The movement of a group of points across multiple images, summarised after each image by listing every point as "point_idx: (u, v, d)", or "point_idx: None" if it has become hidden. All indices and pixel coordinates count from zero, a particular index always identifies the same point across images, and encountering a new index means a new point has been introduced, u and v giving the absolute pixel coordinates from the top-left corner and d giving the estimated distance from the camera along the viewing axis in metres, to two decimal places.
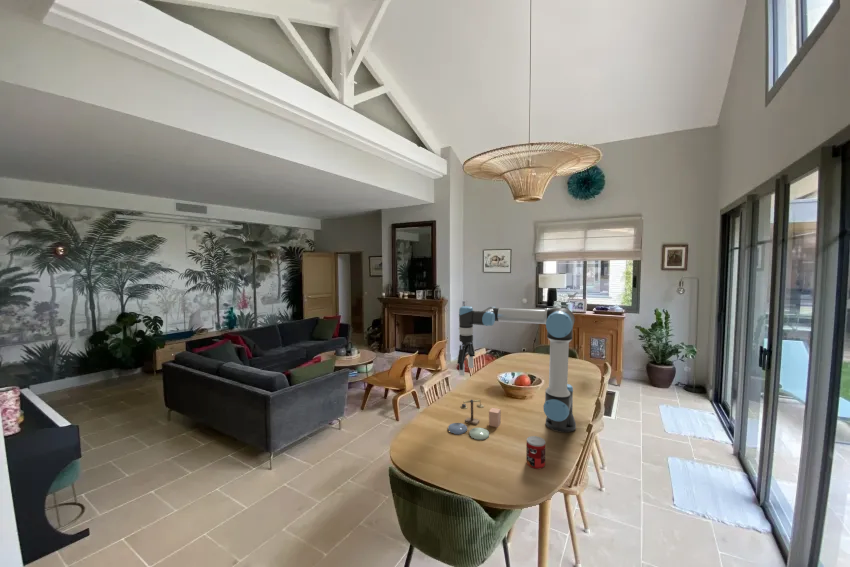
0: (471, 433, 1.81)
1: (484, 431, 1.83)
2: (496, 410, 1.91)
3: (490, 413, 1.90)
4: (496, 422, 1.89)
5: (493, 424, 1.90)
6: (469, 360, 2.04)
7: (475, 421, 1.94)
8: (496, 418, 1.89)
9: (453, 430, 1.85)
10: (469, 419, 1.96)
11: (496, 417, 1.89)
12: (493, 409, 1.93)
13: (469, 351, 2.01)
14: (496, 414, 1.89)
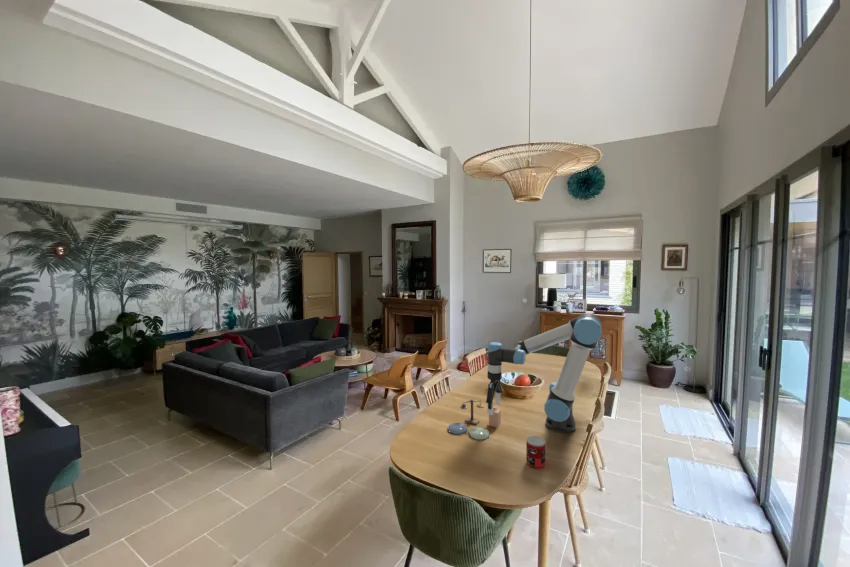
0: (471, 433, 1.81)
1: (484, 431, 1.83)
2: (496, 410, 1.91)
3: None
4: (496, 422, 1.89)
5: (493, 424, 1.90)
6: (496, 396, 1.97)
7: (475, 421, 1.94)
8: (496, 418, 1.89)
9: (453, 430, 1.85)
10: (469, 419, 1.96)
11: (496, 417, 1.89)
12: (493, 409, 1.93)
13: (497, 388, 1.95)
14: (496, 414, 1.89)
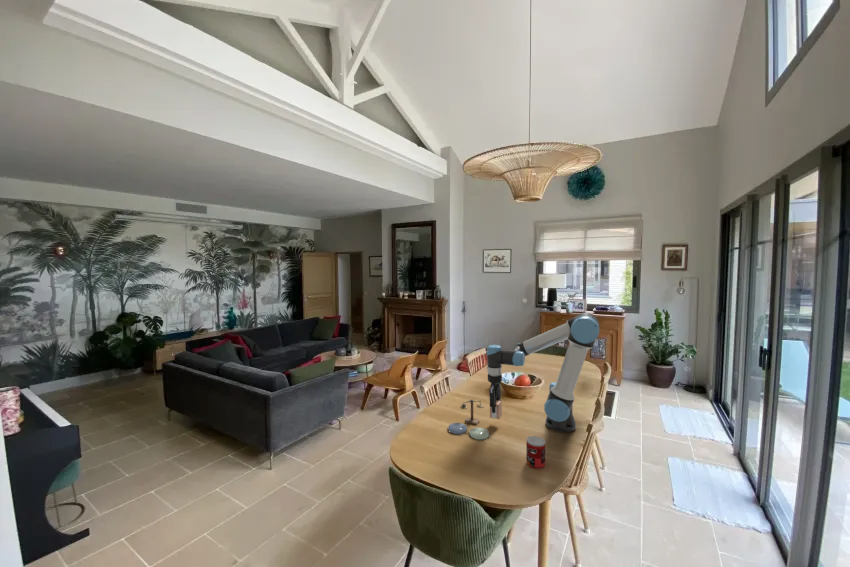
0: (471, 433, 1.81)
1: (484, 431, 1.83)
2: (497, 402, 1.91)
3: None
4: (497, 414, 1.89)
5: None
6: None
7: (475, 421, 1.94)
8: (497, 410, 1.88)
9: (453, 430, 1.85)
10: (469, 419, 1.96)
11: (497, 409, 1.88)
12: None
13: (496, 394, 1.93)
14: (497, 406, 1.88)
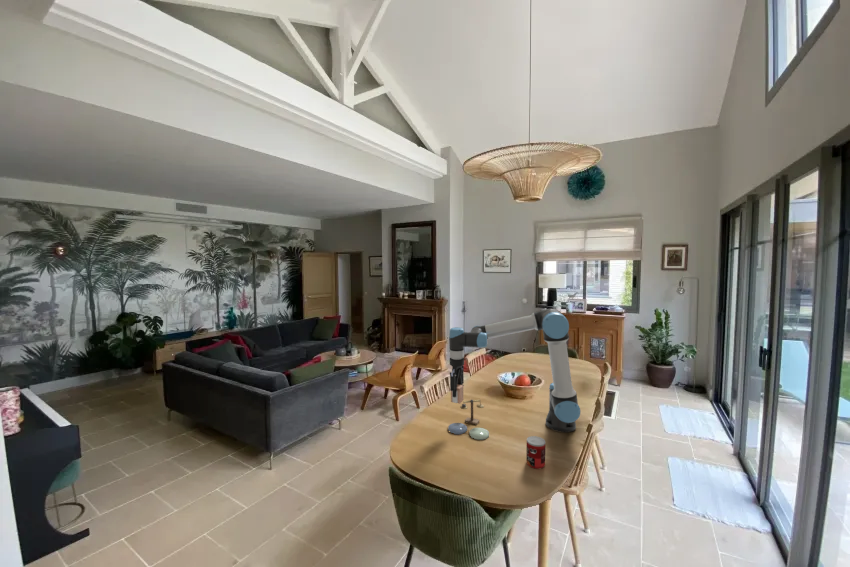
0: (471, 433, 1.81)
1: (484, 431, 1.83)
2: (458, 386, 1.85)
3: None
4: (458, 398, 1.83)
5: None
6: None
7: (475, 421, 1.94)
8: (458, 394, 1.83)
9: (453, 430, 1.85)
10: (469, 419, 1.96)
11: (458, 393, 1.83)
12: None
13: (458, 378, 1.87)
14: (458, 390, 1.83)
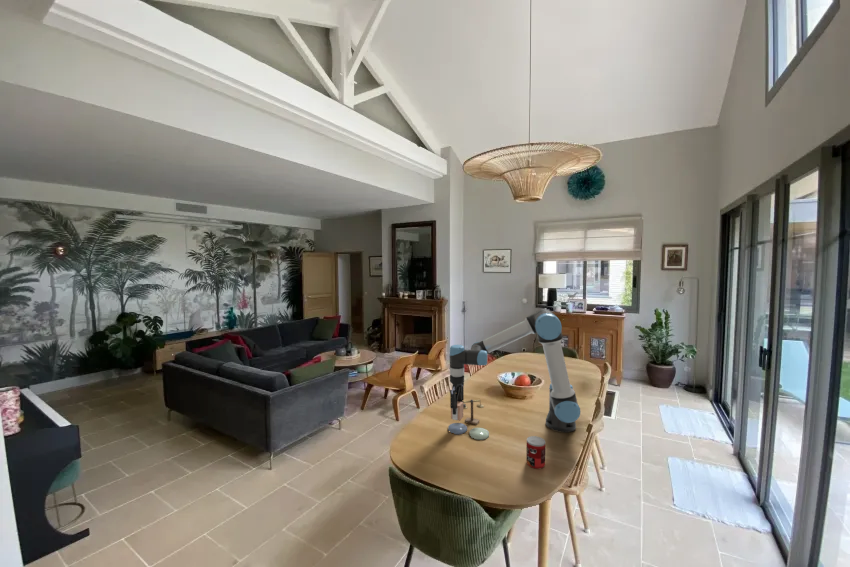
0: (471, 433, 1.81)
1: (484, 431, 1.83)
2: (458, 403, 1.86)
3: None
4: (458, 415, 1.84)
5: None
6: None
7: (475, 421, 1.94)
8: (458, 411, 1.84)
9: (453, 430, 1.85)
10: (469, 419, 1.96)
11: (458, 410, 1.84)
12: None
13: (459, 395, 1.88)
14: (458, 407, 1.83)
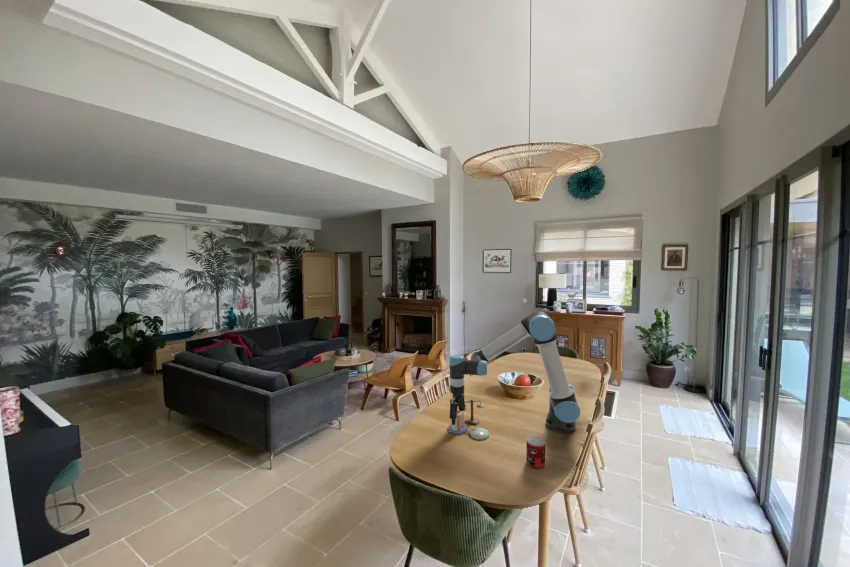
0: (471, 433, 1.81)
1: (484, 431, 1.83)
2: (458, 413, 1.86)
3: None
4: (458, 425, 1.84)
5: None
6: None
7: (475, 421, 1.94)
8: (458, 421, 1.84)
9: (453, 430, 1.85)
10: (469, 419, 1.96)
11: (458, 420, 1.84)
12: None
13: (459, 403, 1.89)
14: (458, 417, 1.84)
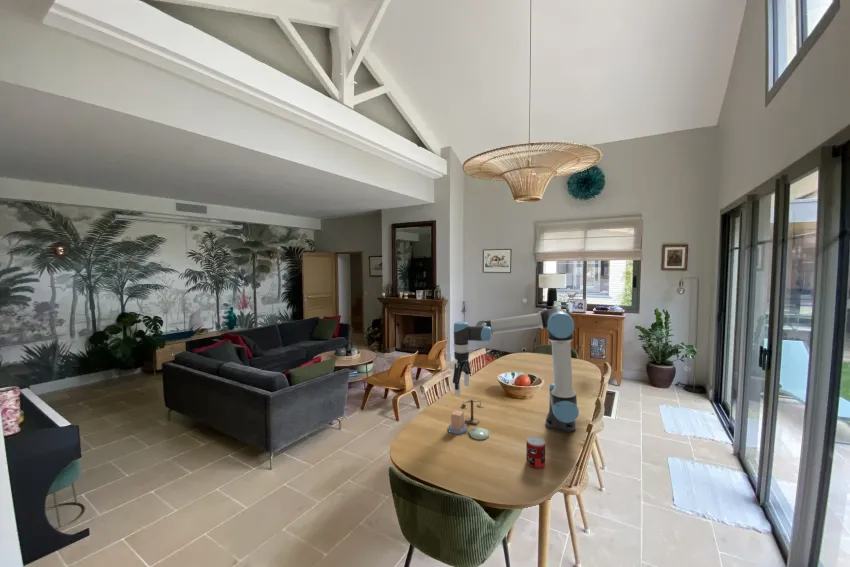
0: (471, 433, 1.81)
1: (484, 431, 1.83)
2: (458, 413, 1.86)
3: (452, 416, 1.86)
4: (458, 425, 1.84)
5: (455, 427, 1.85)
6: (465, 378, 1.93)
7: (475, 421, 1.94)
8: (458, 421, 1.84)
9: (453, 430, 1.85)
10: (469, 419, 1.96)
11: (458, 420, 1.84)
12: (456, 412, 1.88)
13: (465, 369, 1.90)
14: (458, 417, 1.84)
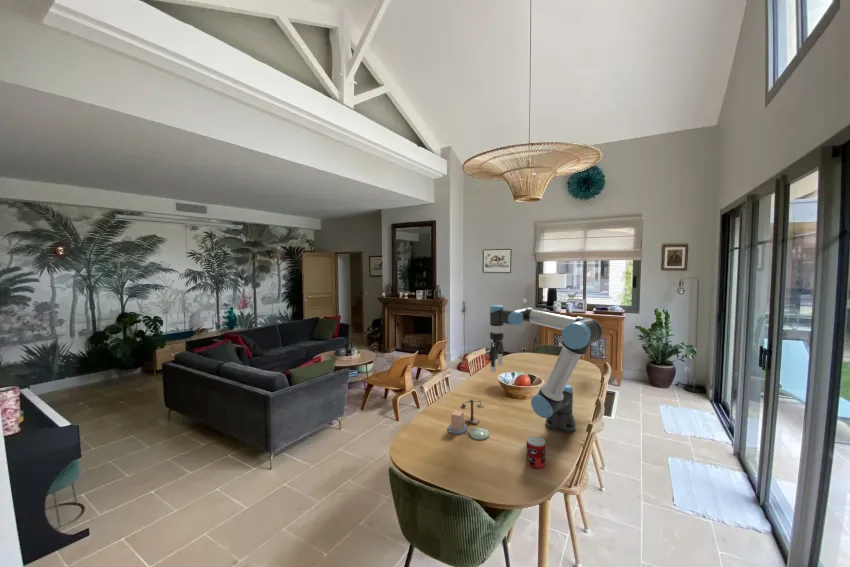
0: (471, 433, 1.81)
1: (484, 431, 1.83)
2: (458, 413, 1.86)
3: (452, 416, 1.86)
4: (458, 425, 1.84)
5: (455, 427, 1.85)
6: (499, 357, 2.09)
7: (475, 421, 1.94)
8: (458, 421, 1.84)
9: (453, 430, 1.85)
10: (469, 419, 1.96)
11: (458, 420, 1.84)
12: (456, 412, 1.88)
13: (499, 348, 2.06)
14: (458, 417, 1.84)
